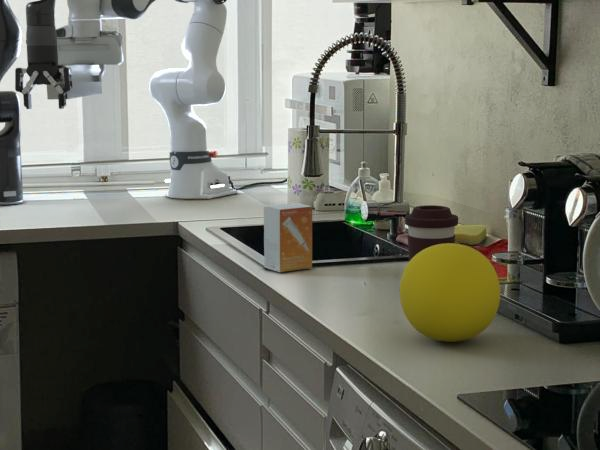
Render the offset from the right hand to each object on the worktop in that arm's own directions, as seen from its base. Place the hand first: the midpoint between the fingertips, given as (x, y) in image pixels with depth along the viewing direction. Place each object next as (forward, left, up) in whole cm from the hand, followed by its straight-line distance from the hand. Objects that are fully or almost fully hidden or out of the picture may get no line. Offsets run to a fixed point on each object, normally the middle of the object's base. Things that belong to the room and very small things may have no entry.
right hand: (87, 82), depth 288 cm
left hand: (+21, +12, -6) cm, 25 cm away
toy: (+39, +152, -36) cm, 161 cm away
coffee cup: (+12, +127, -36) cm, 133 cm away
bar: (+8, +6, -4) cm, 10 cm away
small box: (+18, +96, -36) cm, 104 cm away
